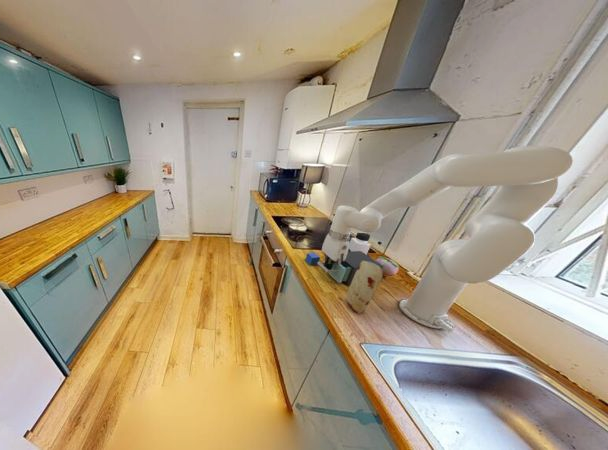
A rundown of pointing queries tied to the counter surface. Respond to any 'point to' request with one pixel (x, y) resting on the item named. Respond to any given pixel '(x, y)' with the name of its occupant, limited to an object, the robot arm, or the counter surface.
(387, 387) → the counter surface
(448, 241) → the robot arm
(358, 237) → the medicine bottle
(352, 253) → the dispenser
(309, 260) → the blue cube
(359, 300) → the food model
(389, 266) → the decorative fruit
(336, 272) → the teal drawer
